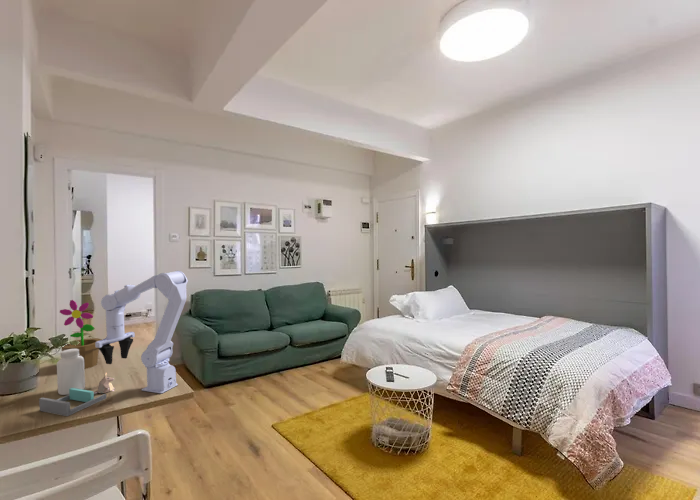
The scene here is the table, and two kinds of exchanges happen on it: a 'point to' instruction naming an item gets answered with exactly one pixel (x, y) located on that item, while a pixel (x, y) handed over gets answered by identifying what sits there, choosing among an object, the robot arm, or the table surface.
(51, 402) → the tray
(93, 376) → the table surface
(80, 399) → the block
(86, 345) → the flowerpot
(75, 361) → the pill bottle
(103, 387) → the mouse figurine
